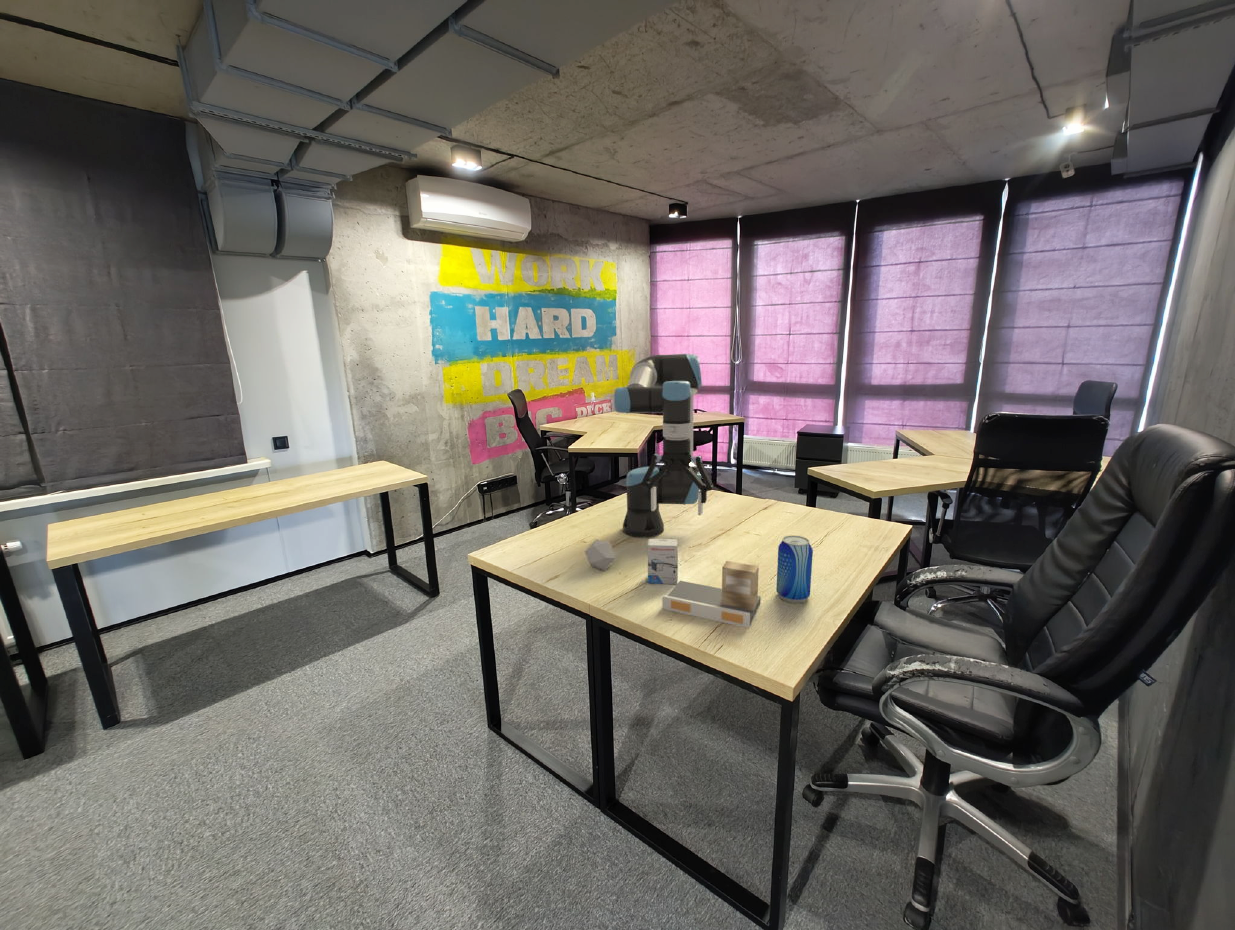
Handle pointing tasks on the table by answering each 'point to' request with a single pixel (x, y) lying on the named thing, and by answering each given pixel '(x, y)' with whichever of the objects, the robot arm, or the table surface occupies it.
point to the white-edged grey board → (706, 604)
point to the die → (600, 554)
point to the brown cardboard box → (740, 585)
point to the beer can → (794, 569)
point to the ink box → (662, 561)
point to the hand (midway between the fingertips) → (676, 511)
